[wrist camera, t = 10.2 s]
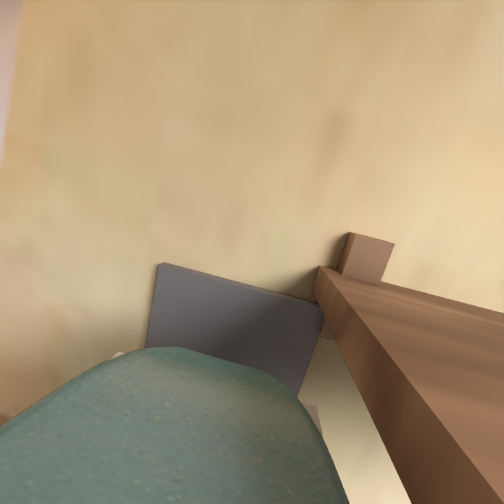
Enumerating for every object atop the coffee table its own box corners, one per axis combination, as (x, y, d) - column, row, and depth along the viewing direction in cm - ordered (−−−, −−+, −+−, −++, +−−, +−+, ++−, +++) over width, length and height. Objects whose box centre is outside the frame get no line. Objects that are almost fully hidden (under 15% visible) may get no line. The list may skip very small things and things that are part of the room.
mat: (163, 262, 14) (158, 264, 14) (324, 305, 14) (327, 309, 13) (140, 397, 16) (135, 404, 16) (279, 437, 16) (280, 446, 16)
